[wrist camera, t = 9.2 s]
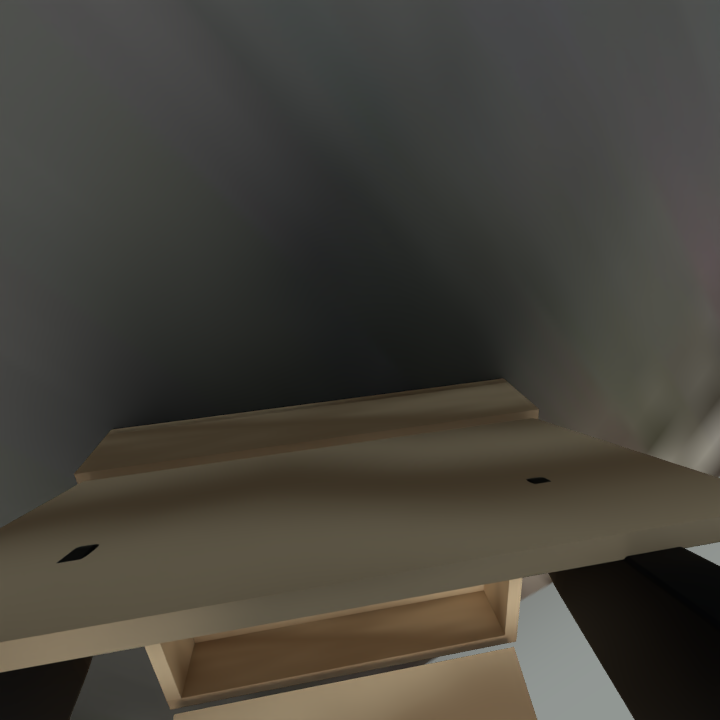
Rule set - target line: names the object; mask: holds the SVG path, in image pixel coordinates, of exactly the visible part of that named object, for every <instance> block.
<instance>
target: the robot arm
mask: <svg viewBox="0 0 720 720" xmlns="http://www.w3.org/2000/svg"><path fill="white" fill-rule="evenodd" d="M526 480H527V481H528V482H530V483H533V484H539V483H545V482H551V481H550V480H548V479H547V478H544V477H535V478H529V479H526ZM98 546H99V544H92V545H86V546H80V547H77V548H75V549H74V550H72V551H71V552H70V553H68V554H67V555H66V556H65V557H63V558H62V559H61V560H59V561H58V562H57V563H62V562H68V561H74V560H80V559H82V558H84V557H86V556H87V555H89V554H90V553H91V552H92V551H94V550H95V549H96V548H97V547H98ZM549 575H550V577H551V579H552V581H553V583H554V585H555V587H556V589H557V591H558V592H559V594H560V596H561V598H562V599H563V601H564V602H565V604H566V606H567V608H568V609H569V611H570V612H571V614H572V616H573V618H574V619H575V621H576V623H577V624H578V626H579V628H580V629H581V631H582V633H583V634H584V636H585V638H586V639H587V641H588V643H589V644H590V646H591V647H592V649H593V651H594V653H595V654H596V656H597V658H598V659H599V661H600V663H601V664H602V666H603V668H604V669H605V671H606V673H607V674H608V676H609V678H610V679H611V681H612V683H613V684H614V686H615V688H616V689H617V691H618V692H619V694H620V696H621V698H622V699H623V701H624V702H625V704H626V706H627V708H628V709H629V711H630V713H631V714H632V716H633V718H634V719H635V720H720V566H718V565H716V564H714V563H713V562H710V561H708V560H706V559H704V558H702V557H701V556H699V555H697V554H695V553H693V552H691V551H689V550H687V549H685V548H683V547H675V548H669V549H664V550H658V551H652V552H647V553H641V554H636V555H630V556H626V557H625V559H623V560H617V561H612V562H606V563H601V564H595V565H590V566H584V567H579V568H573V569H568V570H562V571H557V572H551V573H549ZM92 657H93V656H88V657H83V658H77V659H72V660H66V661H61V662H55V663H50V664H44V665H39V666H33V667H28V668H22V669H17V670H11V671H6V672H0V720H69V719H70V716H71V714H72V711H73V708H74V706H75V703H76V701H77V698H78V696H79V693H80V691H81V688H82V685H83V683H84V680H85V677H86V675H87V672H88V669H89V666H90V663H91V660H92Z"/></svg>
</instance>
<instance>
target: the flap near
mask: <svg viewBox="0 0 720 720" xmlns="http://www.w3.org/2000/svg"><path fill="white" fill-rule="evenodd" d="M535 477H544V478H547V479H548V480H550V481H551V482H545V483H539V484H533V483H530V482H528V481H527V480H526V479H529V478H535ZM716 542H720V478H718V477H714V476H711V475H708V474H705V473H702V472H699V471H696V470H693V469H690V468H687V467H684V466H680V465H677V464H674V463H671V462H668V461H665V460H662V459H659V458H656V457H653V456H650V455H647V454H643V453H640V452H637V451H634V450H631V449H628V448H625V447H622V446H619V445H616V444H613V443H609V442H606V441H603V440H600V439H597V438H594V437H591V436H588V435H585V434H582V433H579V432H575V431H572V430H569V429H566V428H563V427H560V426H557V425H554V424H551V423H548V422H545V421H541V420H538V419H535V418H529V419H522V420H514V421H507V422H500V423H493V424H486V425H479V426H472V427H465V428H458V429H451V430H444V431H437V432H430V433H423V434H416V435H408V436H401V437H394V438H387V439H380V440H373V441H366V442H359V443H352V444H345V445H338V446H331V447H324V448H317V449H310V450H303V451H295V452H288V453H281V454H274V455H267V456H260V457H253V458H246V459H239V460H232V461H225V462H218V463H211V464H204V465H197V466H189V467H182V468H175V469H168V470H161V471H154V472H147V473H140V474H133V475H126V476H119V477H112V478H105V479H98V480H91V481H83V482H81V483H80V484H78V485H76V486H74V487H72V488H71V489H69V490H67V491H65V492H64V493H62V494H60V495H58V496H56V497H55V498H53V499H51V500H49V501H48V502H46V503H44V504H42V505H41V506H39V507H37V508H35V509H33V510H32V511H30V512H28V513H26V514H25V515H23V516H21V517H19V518H18V519H16V520H14V521H12V522H10V523H9V524H7V525H5V526H3V527H2V528H0V672H6V671H11V670H17V669H22V668H28V667H33V666H39V665H44V664H50V663H55V662H61V661H66V660H72V659H77V658H83V657H88V656H94V655H99V654H105V653H110V652H116V651H121V650H127V649H132V648H138V647H143V646H149V645H154V644H160V643H165V642H171V641H177V640H182V639H188V638H193V637H199V636H204V635H210V634H215V633H221V632H226V631H232V630H237V629H243V628H248V627H254V626H259V625H265V624H270V623H276V622H281V621H287V620H292V619H298V618H303V617H309V616H314V615H320V614H325V613H331V612H336V611H342V610H347V609H353V608H358V607H364V606H369V605H375V604H380V603H386V602H391V601H397V600H402V599H408V598H413V597H419V596H424V595H430V594H435V593H441V592H447V591H452V590H458V589H463V588H469V587H474V586H480V585H485V584H491V583H496V582H502V581H507V580H513V579H518V578H524V577H529V576H535V575H540V574H546V573H551V572H557V571H562V570H568V569H573V568H579V567H584V566H590V565H595V564H601V563H606V562H612V561H617V560H623V559H625V557H626V556H630V555H636V554H641V553H647V552H652V551H658V550H664V549H669V548H675V547H683V548H689V547H694V546H700V545H706V544H711V543H716ZM92 544H99V546H98V547H97V548H96V549H95V550H94V551H92V552H91V553H90V554H89V555H87V556H86V557H84V558H82V559H80V560H74V561H68V562H62V563H57V562H58V561H59V560H61V559H62V558H63V557H65V556H66V555H67V554H68V553H70V552H71V551H72V550H74V549H75V548H77V547H80V546H86V545H92Z"/></svg>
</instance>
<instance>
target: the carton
mask: <svg viewBox="0 0 720 720" xmlns="http://www.w3.org/2000/svg"><path fill="white" fill-rule="evenodd" d="M538 415H539V409H538V408H537V407H536V406H535V405H534V404H532V403H531V402H530V401H529V400H528V399H527V398H526V397H524V396H523V395H522V394H521V393H520V392H519V391H517V390H516V389H515V388H514V387H513V386H512V385H511V384H509V383H508V382H507V381H506V380H505V379H504V378H503V379H495V380H488V381H480V382H472V383H465V384H457V385H449V386H442V387H434V388H426V389H419V390H411V391H403V392H396V393H388V394H380V395H373V396H365V397H357V398H350V399H342V400H334V401H327V402H319V403H311V404H304V405H296V406H288V407H281V408H273V409H265V410H258V411H250V412H243V413H235V414H227V415H220V416H212V417H204V418H197V419H189V420H181V421H174V422H166V423H158V424H151V425H143V426H135V427H128V428H120V429H112V430H110V432H109V433H108V434H107V435H106V436H105V438H104V439H103V440H102V441H101V442H100V444H99V445H98V446H97V447H96V448H95V450H94V451H93V452H92V453H91V454H90V456H89V457H88V458H87V459H86V460H85V462H84V463H83V464H82V465H81V466H80V467H79V469H78V470H77V471H76V472H75V473H74V475H75V478H76V480H77V483H78V484H80V483H81V482H83V481H91V480H98V479H105V478H112V477H119V476H126V475H133V474H140V473H147V472H154V471H161V470H168V469H175V468H182V467H189V466H197V465H204V464H211V463H218V462H225V461H232V460H239V459H246V458H253V457H260V456H267V455H274V454H281V453H288V452H295V451H303V450H310V449H317V448H324V447H331V446H338V445H345V444H352V443H359V442H366V441H373V440H380V439H387V438H394V437H401V436H408V435H416V434H423V433H430V432H437V431H444V430H451V429H458V428H465V427H472V426H479V425H486V424H493V423H500V422H507V421H514V420H522V419H529V418H535V419H538ZM521 587H522V578H518V579H513V580H507V581H502V582H496V583H491V584H485V585H480V586H474V587H469V588H463V589H458V590H452V591H447V592H441V593H435V594H430V595H424V596H419V597H413V598H408V599H402V600H397V601H391V602H386V603H380V604H375V605H369V606H364V607H358V608H353V609H347V610H342V611H336V612H331V613H325V614H320V615H314V616H309V617H303V618H298V619H292V620H287V621H281V622H276V623H270V624H265V625H259V626H254V627H248V628H243V629H237V630H232V631H226V632H221V633H215V634H210V635H204V636H199V637H193V638H188V639H182V640H177V641H171V642H165V643H160V644H154V645H149V646H145V649H146V651H147V654H148V656H149V659H150V661H151V663H152V666H153V668H154V671H155V673H156V676H157V678H158V680H159V683H160V685H161V688H162V690H163V693H164V695H165V698H166V700H167V702H168V705H169V707H170V710H171V709H176V708H181V707H186V706H191V705H196V704H201V703H206V702H211V701H216V700H222V699H227V698H232V697H237V696H242V695H247V694H252V693H257V692H262V691H267V690H272V689H277V688H282V687H287V686H293V685H298V684H303V683H308V682H313V681H318V680H323V679H328V678H333V677H338V676H343V675H348V674H353V673H358V672H364V671H369V670H374V669H379V668H384V667H389V666H394V665H399V664H404V663H409V662H414V661H419V660H424V659H429V658H435V657H440V656H445V655H450V654H455V653H460V652H465V651H470V650H475V649H480V648H485V647H490V646H495V645H500V644H505V643H511V642H515V641H516V637H517V627H518V618H519V608H520V597H521Z"/></svg>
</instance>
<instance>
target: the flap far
mask: <svg viewBox="0 0 720 720" xmlns="http://www.w3.org/2000/svg"><path fill="white" fill-rule="evenodd" d="M173 720H537V718H536V714H535V711H534V708H533V705H532V702H531V699H530V696H529V693H528V690H527V687H526V683H525V680H524V677H523V674H522V671H521V668H520V665H519V661H518V658H517V655H516V652H515V649H514V647H511V648H506V649H501V650H496V651H491V652H486V653H482V654H476V655H472V656H466V657H461V658H456V659H451V660H446V661H441V662H436V663H431V664H426V665H421V666H416V667H411V668H406V669H401V670H396V671H391V672H385V673H380V674H375V675H370V676H365V677H360V678H355V679H350V680H345V681H340V682H335V683H330V684H325V685H320V686H315V687H310V688H305V689H300V690H295V691H290V692H285V693H280V694H275V695H270V696H265V697H260V698H255V699H249V700H244V701H239V702H234V703H229V704H224V705H219V706H214V707H209V708H204V709H199V710H194V711H189V712H184V713H179V714H174V718H173Z"/></svg>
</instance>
